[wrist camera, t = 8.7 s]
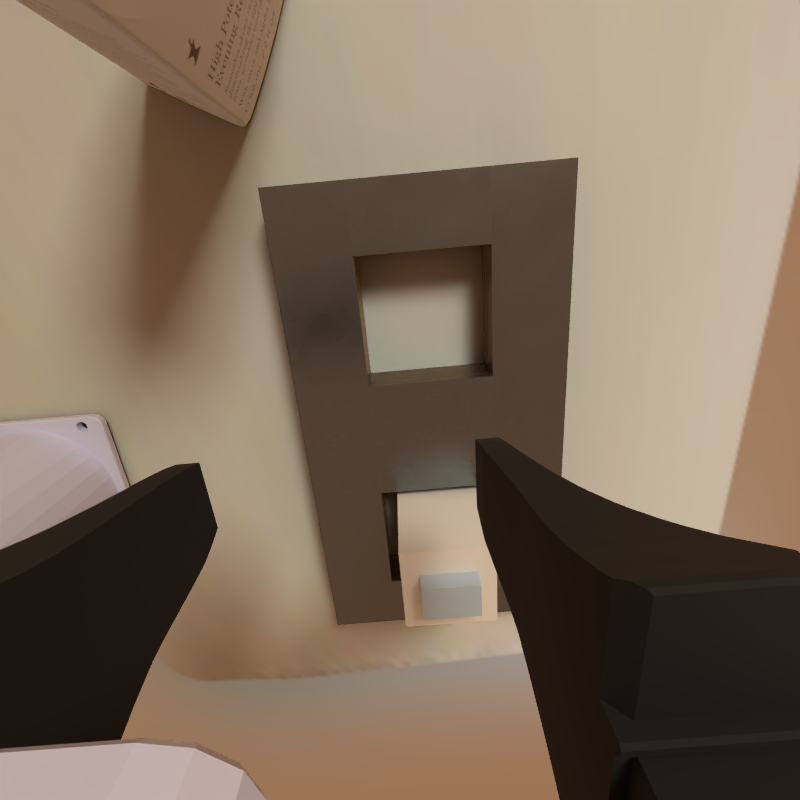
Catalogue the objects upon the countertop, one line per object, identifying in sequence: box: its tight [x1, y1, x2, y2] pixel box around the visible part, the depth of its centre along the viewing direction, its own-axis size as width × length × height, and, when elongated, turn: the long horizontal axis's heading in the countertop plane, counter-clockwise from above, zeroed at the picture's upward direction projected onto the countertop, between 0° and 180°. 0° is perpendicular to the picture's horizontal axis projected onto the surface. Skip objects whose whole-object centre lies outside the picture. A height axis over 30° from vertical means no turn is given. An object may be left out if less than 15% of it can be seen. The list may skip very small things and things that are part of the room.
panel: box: [258, 158, 578, 625], centre depth 21 cm, size 12×22×2 cm, turn 5°
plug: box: [397, 485, 497, 627], centre depth 21 cm, size 4×4×7 cm
